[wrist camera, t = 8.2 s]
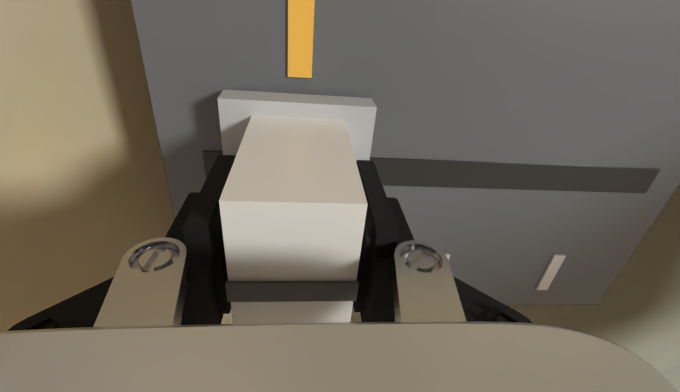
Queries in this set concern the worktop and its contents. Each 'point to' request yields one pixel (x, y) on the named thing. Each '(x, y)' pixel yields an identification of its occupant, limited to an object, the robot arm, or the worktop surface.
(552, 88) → the console
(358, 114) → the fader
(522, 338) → the robot arm
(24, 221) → the worktop surface
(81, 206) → the worktop surface
